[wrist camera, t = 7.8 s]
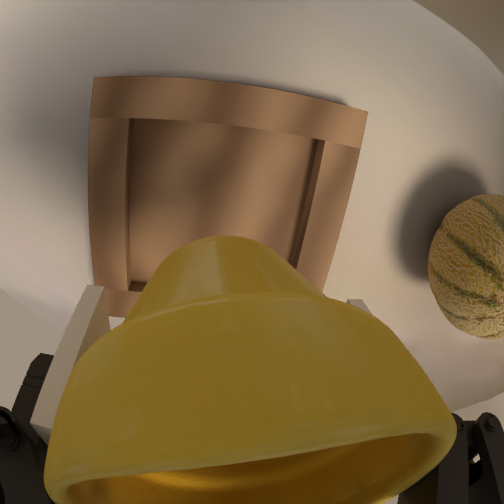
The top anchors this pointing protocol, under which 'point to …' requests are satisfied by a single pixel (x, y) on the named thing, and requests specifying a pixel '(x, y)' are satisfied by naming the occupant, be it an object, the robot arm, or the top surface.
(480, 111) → the top surface
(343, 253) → the top surface
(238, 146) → the walnut tray
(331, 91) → the top surface
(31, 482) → the robot arm
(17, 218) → the top surface
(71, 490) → the plant pot
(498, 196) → the cantaloupe
